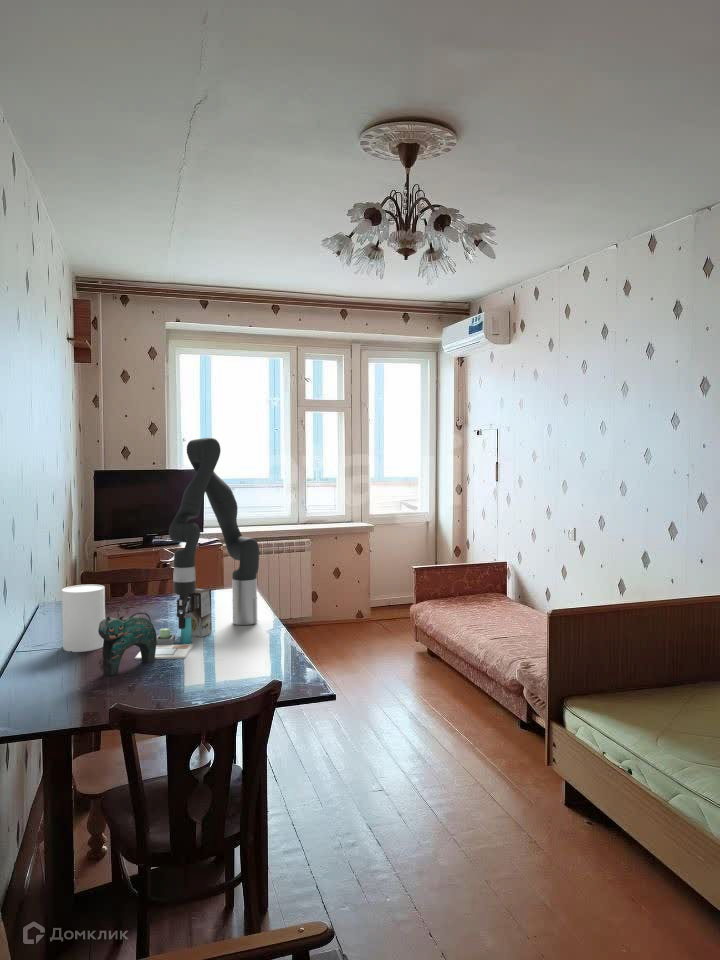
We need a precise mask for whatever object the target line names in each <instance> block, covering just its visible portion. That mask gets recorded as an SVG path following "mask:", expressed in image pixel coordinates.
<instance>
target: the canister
mask: <svg viewBox="0 0 720 960" xmlns="http://www.w3.org/2000/svg"><path fill="white" fill-rule="evenodd" d="M105 588H106V587H105V586H104V585H102V584H96V583H95V584H93V583H92V584H77V585H71V586H67V587H64V588H62V589H61V599H62V600H61V603H62V607H61V610H62V643H63V644H62V645H63V646H62V648H63V650H64V651H66V652H70V651H72V653H79V652H81V653H82V652H91V651H95V650H99V649H101V648H102V649H103V642H104V639H103V638H102V637H101V636H100V635H99V632H98V630H99V624H100V622H101V621H102V620H103V619H105V618H106V595H105V593H106V592H105V591H106V590H105Z"/></svg>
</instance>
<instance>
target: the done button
mask: <svg viewBox="0 0 720 960" xmlns="http://www.w3.org/2000/svg"><path fill="white" fill-rule="evenodd" d="M158 635H159V637H160V639H170V635H171V629H170V628H167V627H166V628H160V629H159V634H158Z"/></svg>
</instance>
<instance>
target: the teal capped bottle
mask: <svg viewBox="0 0 720 960" xmlns="http://www.w3.org/2000/svg"><path fill="white" fill-rule="evenodd" d="M181 614H183V613H182V612H181ZM191 643H192V636H191V613H186V617H185V628H184V629H180V644H181V645H188V644H191Z"/></svg>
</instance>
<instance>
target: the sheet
mask: <svg viewBox="0 0 720 960" xmlns="http://www.w3.org/2000/svg"><path fill="white" fill-rule="evenodd" d="M193 645H194V644H191V643H188V644H173V645H156V652H155V660H173V659H178V660H179V659H186V658H187V657H188V655H189V653H190V651H191V650H192V648H193ZM134 660H136V661H137V660H142V657H141V651H140V650H139V652H138V653H137V655H135V657H134Z"/></svg>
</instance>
